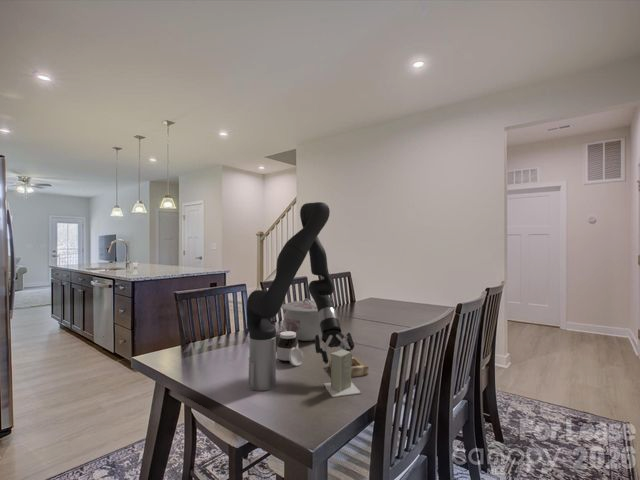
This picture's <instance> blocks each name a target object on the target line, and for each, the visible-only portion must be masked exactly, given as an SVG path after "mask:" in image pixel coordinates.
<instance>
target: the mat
mask: <svg viewBox="0 0 640 480" xmlns="http://www.w3.org/2000/svg"><path fill="white" fill-rule="evenodd" d="M323 386H324V387H325V388H326V390H327V392H328V393H329V395H330V396H331V397H332V398H339V397H345V396H353V395H360V394H362V393H361V391H360V390H359V389H358V388H357V386H356V385H355V384H354V383H353V382H352V381H351V387H349V388H347V389H345V390H343V391H341V392H339V391H337V390H334V389H332V388H331V382H325V383H323Z"/></svg>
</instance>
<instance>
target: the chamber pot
mask: <svg viewBox="0 0 640 480" xmlns="http://www.w3.org/2000/svg"><path fill="white" fill-rule="evenodd" d="M280 309H282V310H284V311H285V312H284V314H283V323H284V327H285V330H286V331H292V332H295V333H296V338H297V340H298V341H301V342H313V341H315V340H314V339H315V336H316V335H318V336H322V332H321V328H320V324H319V316H318V310H317V306H316V303H315V301H314V300H310V299H309V298H304V299H303V300H295V301H290V302H286V303H283V304H282V306H281V308H280Z"/></svg>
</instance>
